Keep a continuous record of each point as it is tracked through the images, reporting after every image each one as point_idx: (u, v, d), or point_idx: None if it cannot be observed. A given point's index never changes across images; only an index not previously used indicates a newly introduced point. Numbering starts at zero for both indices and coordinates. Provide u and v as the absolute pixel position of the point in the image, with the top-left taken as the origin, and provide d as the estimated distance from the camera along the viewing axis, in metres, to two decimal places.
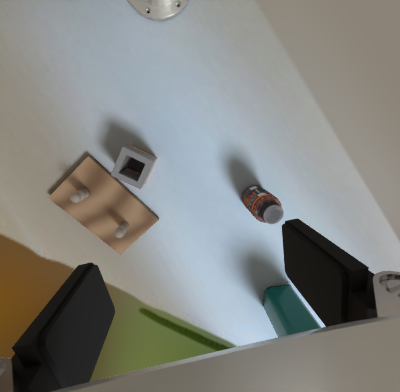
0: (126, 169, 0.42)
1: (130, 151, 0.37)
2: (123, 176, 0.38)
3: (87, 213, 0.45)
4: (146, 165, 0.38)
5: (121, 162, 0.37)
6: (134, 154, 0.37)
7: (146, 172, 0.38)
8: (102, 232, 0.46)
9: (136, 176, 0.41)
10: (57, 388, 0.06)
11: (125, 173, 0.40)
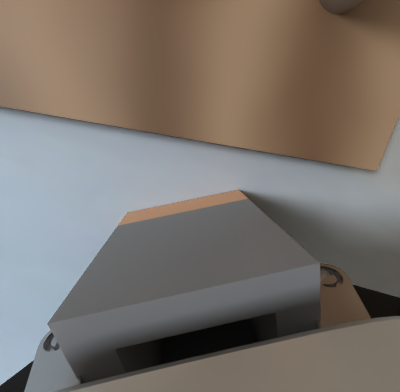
0: None
1: None
2: (229, 315, 0.05)
3: None
4: None
5: None
6: None
7: None
8: None
9: None
10: None
11: None
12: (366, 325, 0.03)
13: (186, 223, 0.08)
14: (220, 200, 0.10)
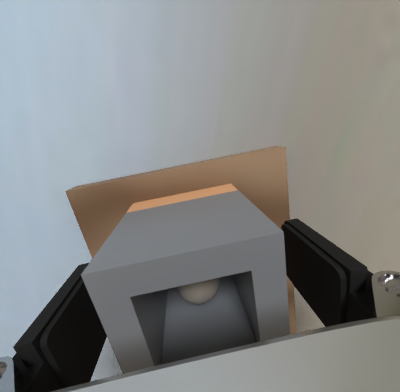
0: None
1: None
2: (216, 271, 0.06)
3: None
4: None
5: (263, 319, 0.07)
6: None
7: (126, 359, 0.07)
8: None
9: None
10: (57, 386, 0.06)
11: None
12: (366, 325, 0.03)
13: (185, 209, 0.09)
14: (214, 192, 0.11)
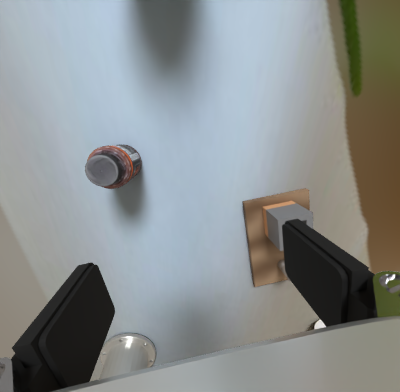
0: None
1: None
2: None
3: None
4: None
5: None
6: None
7: (281, 238, 0.34)
8: None
9: None
10: (56, 387, 0.06)
11: None
12: (366, 325, 0.03)
13: (285, 208, 0.36)
14: (288, 203, 0.38)
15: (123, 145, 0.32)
